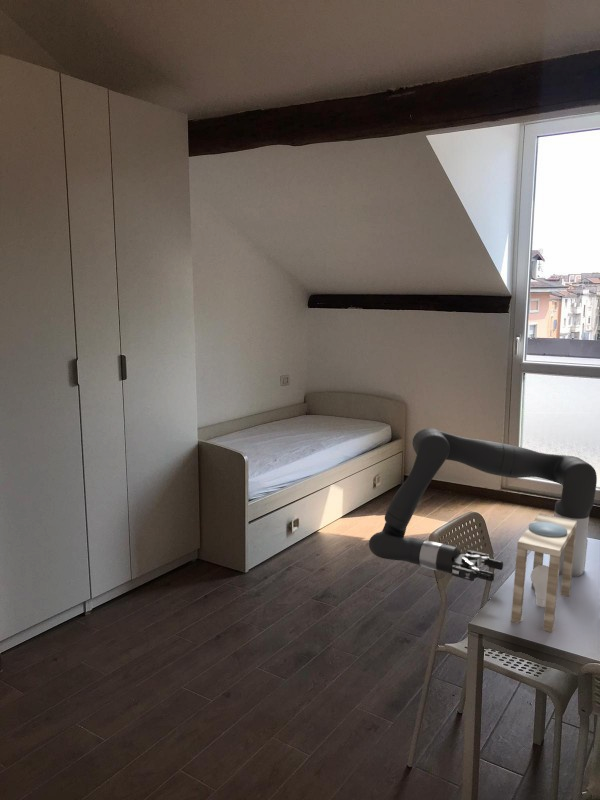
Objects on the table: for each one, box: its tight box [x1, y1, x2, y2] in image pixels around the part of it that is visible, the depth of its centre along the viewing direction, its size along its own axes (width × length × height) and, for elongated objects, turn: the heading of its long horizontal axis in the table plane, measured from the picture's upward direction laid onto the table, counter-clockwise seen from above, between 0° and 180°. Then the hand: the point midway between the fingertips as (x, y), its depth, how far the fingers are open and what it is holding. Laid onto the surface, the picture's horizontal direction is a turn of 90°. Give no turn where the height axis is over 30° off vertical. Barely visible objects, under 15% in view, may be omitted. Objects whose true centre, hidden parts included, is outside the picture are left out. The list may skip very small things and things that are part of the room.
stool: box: [510, 513, 577, 633], centre depth 164 cm, size 24×10×21 cm, turn 148°
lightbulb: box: [530, 564, 549, 608], centre depth 165 cm, size 6×6×11 cm
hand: (498, 571), depth 170 cm, fingers open, 8 cm apart
